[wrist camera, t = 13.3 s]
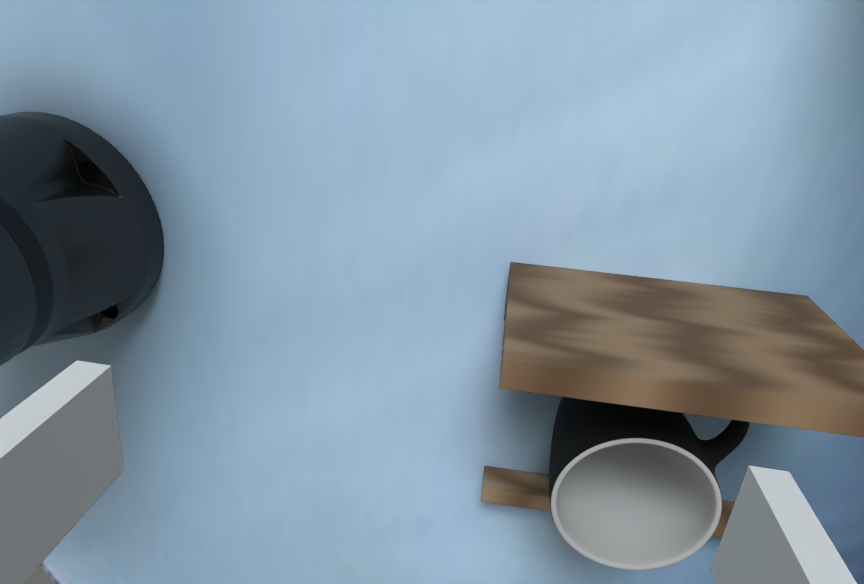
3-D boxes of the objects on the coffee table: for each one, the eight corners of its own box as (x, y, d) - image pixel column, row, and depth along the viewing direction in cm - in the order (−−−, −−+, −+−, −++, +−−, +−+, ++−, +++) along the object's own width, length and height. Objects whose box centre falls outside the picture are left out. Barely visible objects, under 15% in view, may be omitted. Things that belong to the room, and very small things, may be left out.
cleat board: (483, 478, 47) (467, 631, 35) (510, 262, 40) (503, 359, 28) (734, 516, 45) (807, 690, 33) (807, 296, 39) (931, 415, 27)
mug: (584, 477, 46) (598, 591, 37) (521, 382, 44) (519, 477, 34) (748, 411, 42) (810, 519, 33) (688, 303, 40) (737, 386, 31)
